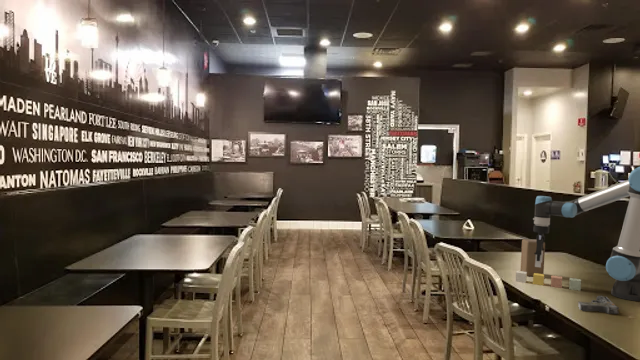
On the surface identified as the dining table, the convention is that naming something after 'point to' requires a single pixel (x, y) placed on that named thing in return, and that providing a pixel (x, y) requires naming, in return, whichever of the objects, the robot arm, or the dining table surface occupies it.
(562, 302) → the dining table surface
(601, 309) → the handgun
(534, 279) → the mustard cube
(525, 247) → the wooden block
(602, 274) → the dining table surface
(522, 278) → the cream cube
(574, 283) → the sage cube
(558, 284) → the terracotta cube
